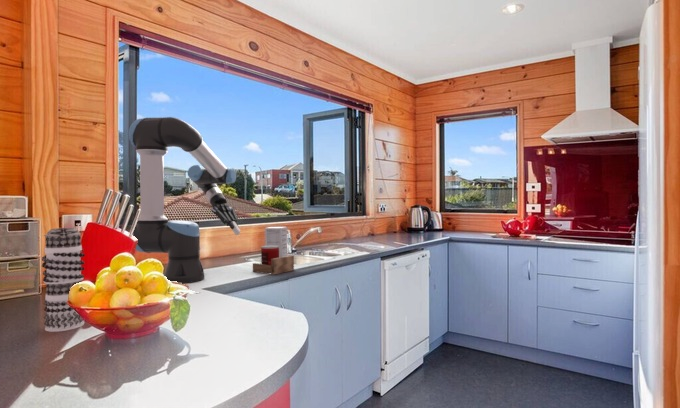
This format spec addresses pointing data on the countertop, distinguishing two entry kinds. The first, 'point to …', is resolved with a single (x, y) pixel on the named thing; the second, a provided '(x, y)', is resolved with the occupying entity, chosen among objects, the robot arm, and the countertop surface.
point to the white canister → (277, 238)
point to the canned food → (269, 253)
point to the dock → (276, 265)
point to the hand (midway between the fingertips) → (238, 233)
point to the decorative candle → (62, 277)
